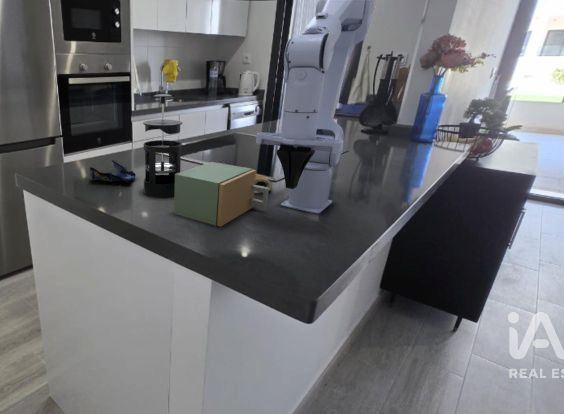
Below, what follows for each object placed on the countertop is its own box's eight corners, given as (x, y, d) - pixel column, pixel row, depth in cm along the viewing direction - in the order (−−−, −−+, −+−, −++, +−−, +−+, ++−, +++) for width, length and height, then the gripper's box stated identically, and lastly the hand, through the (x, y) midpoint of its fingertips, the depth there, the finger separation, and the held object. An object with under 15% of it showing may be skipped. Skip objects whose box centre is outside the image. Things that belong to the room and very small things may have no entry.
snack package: (111, 173, 110) (82, 181, 101) (113, 152, 108) (84, 158, 99) (143, 187, 104) (115, 197, 95) (147, 165, 102) (118, 173, 93)
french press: (167, 202, 86) (168, 96, 78) (133, 194, 91) (131, 95, 83) (191, 189, 95) (195, 93, 87) (160, 183, 100) (160, 92, 92)
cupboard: (248, 207, 83) (252, 168, 80) (215, 226, 73) (218, 183, 70) (209, 197, 89) (211, 161, 86) (174, 214, 79) (174, 174, 76)
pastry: (234, 183, 99) (236, 169, 98) (260, 182, 100) (261, 168, 99) (247, 194, 91) (248, 179, 89) (274, 193, 91) (276, 178, 90)
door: (268, 211, 80) (272, 172, 77) (237, 231, 70) (241, 188, 67) (249, 206, 82) (252, 169, 80) (217, 225, 73) (219, 184, 70)
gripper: (250, 110, 67) (244, 184, 71) (339, 116, 58) (325, 201, 62) (268, 107, 72) (261, 176, 76) (352, 112, 63) (338, 191, 67)
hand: (291, 187), depth 70 cm, fingers closed
